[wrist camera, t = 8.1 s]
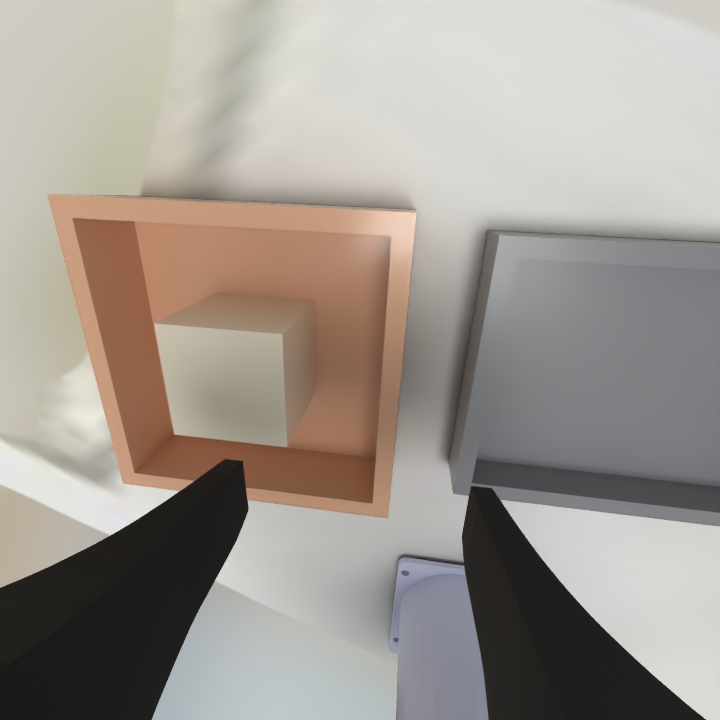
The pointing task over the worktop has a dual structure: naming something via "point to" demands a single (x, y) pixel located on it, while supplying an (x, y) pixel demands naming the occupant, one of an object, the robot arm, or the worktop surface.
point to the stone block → (239, 367)
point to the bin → (251, 278)
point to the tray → (594, 376)
